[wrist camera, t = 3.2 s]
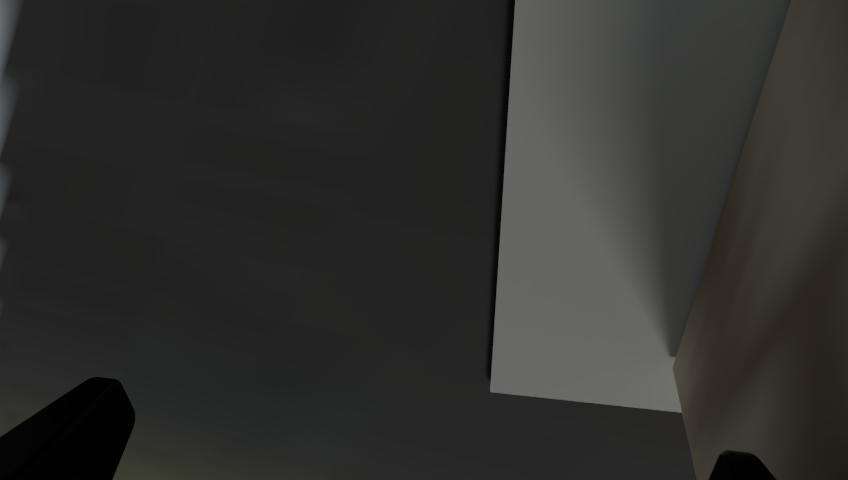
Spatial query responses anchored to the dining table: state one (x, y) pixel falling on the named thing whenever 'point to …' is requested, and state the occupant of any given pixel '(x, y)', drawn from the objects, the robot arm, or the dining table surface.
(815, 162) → the beech slab
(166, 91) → the dining table surface
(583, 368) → the white flat tray
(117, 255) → the dining table surface
